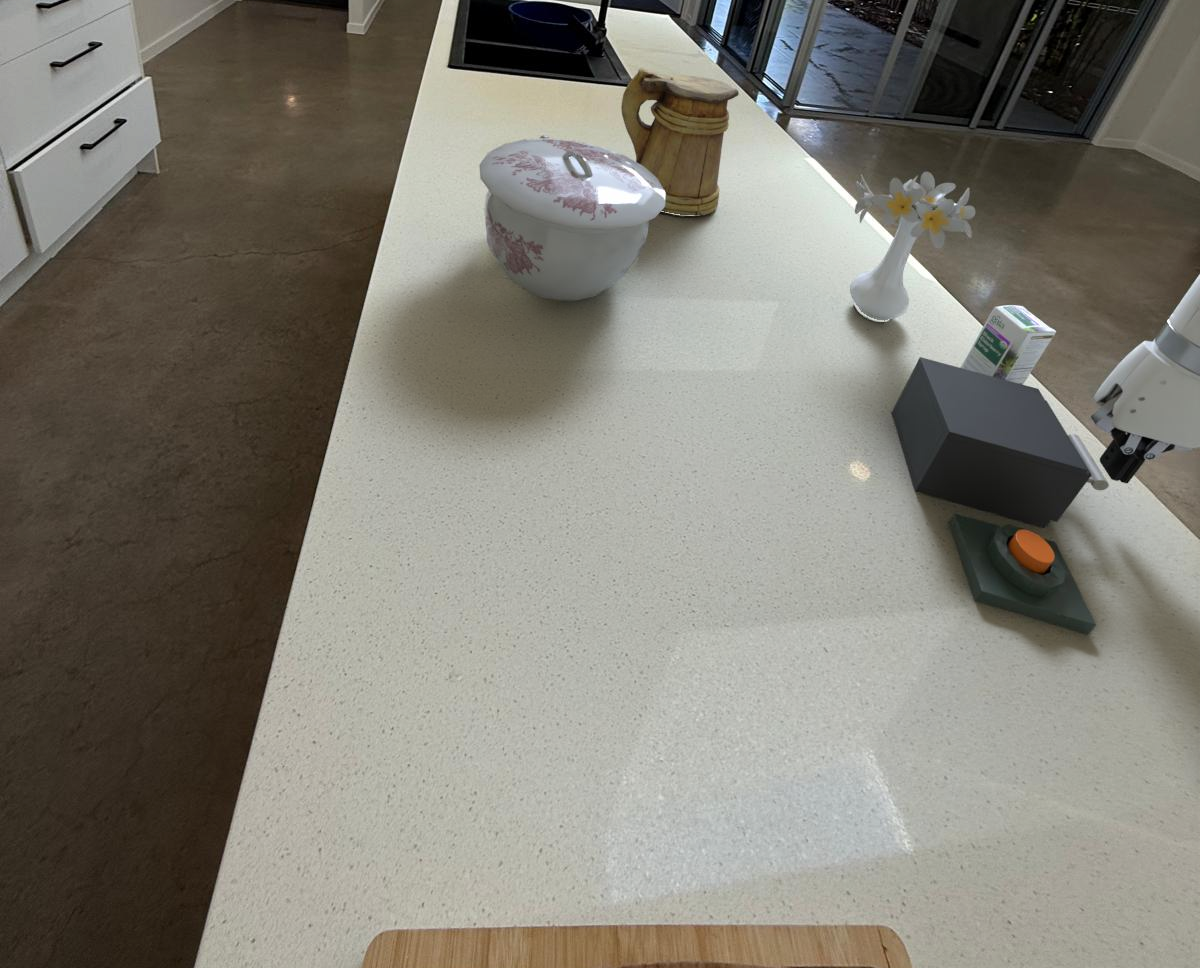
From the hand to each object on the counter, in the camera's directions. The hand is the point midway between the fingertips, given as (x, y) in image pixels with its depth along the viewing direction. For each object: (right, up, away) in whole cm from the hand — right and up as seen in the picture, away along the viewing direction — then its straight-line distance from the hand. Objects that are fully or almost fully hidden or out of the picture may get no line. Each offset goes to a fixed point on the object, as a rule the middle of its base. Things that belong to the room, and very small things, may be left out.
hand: (1112, 471), depth 78 cm
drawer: (-12, -1, +3) cm, 12 cm away
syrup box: (-6, +3, +17) cm, 18 cm away
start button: (-17, -4, -10) cm, 20 cm away
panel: (-17, -7, -9) cm, 21 cm away
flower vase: (-16, +12, +31) cm, 37 cm away
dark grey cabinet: (-16, -1, +4) cm, 16 cm away
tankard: (-48, +31, +56) cm, 80 cm away
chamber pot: (-68, +20, +25) cm, 75 cm away
